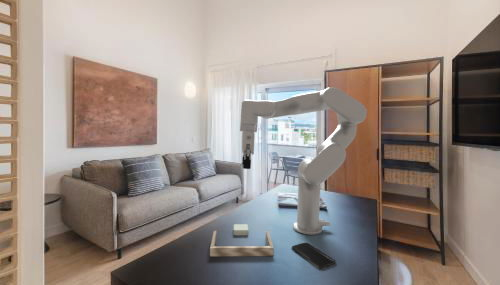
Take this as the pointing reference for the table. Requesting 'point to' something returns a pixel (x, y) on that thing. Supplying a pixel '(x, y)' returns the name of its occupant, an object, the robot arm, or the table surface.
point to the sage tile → (240, 229)
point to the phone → (314, 255)
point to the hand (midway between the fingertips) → (246, 166)
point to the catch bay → (241, 249)
